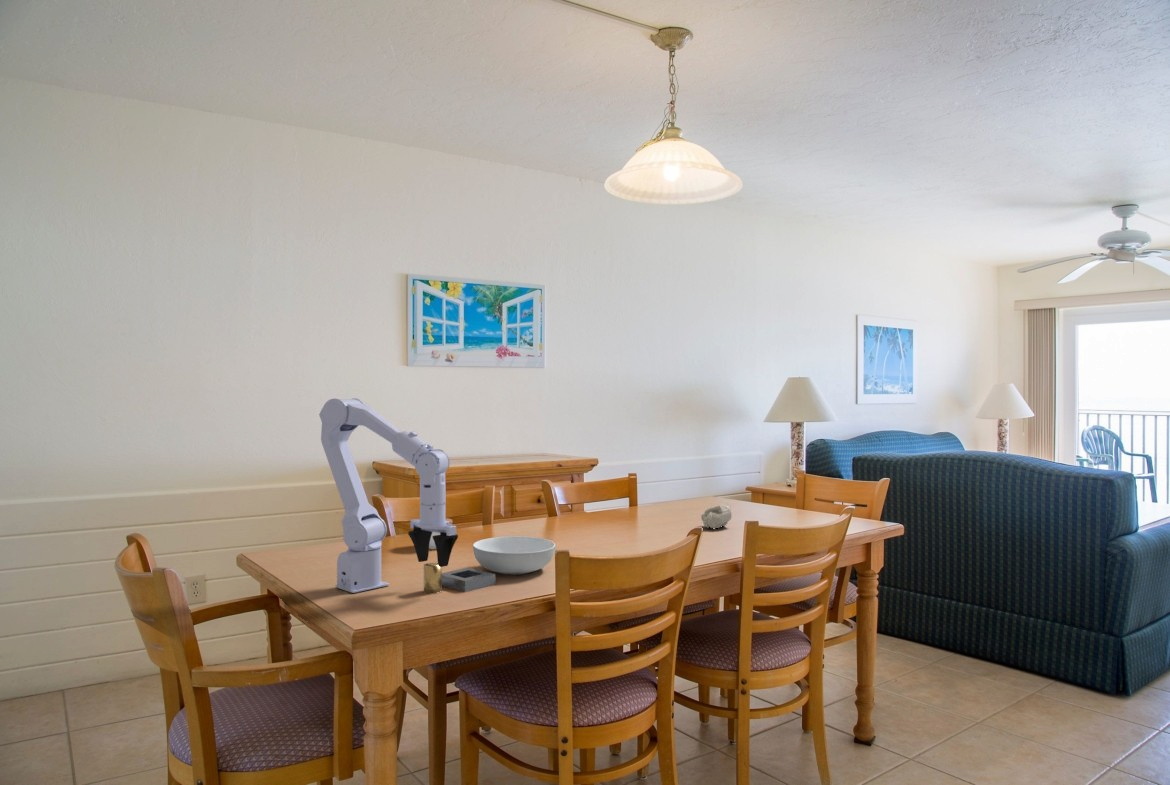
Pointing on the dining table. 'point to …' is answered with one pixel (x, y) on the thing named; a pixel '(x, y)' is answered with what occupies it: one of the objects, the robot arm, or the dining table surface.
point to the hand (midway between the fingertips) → (432, 563)
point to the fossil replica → (717, 516)
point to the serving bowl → (514, 554)
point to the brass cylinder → (432, 578)
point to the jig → (467, 579)
